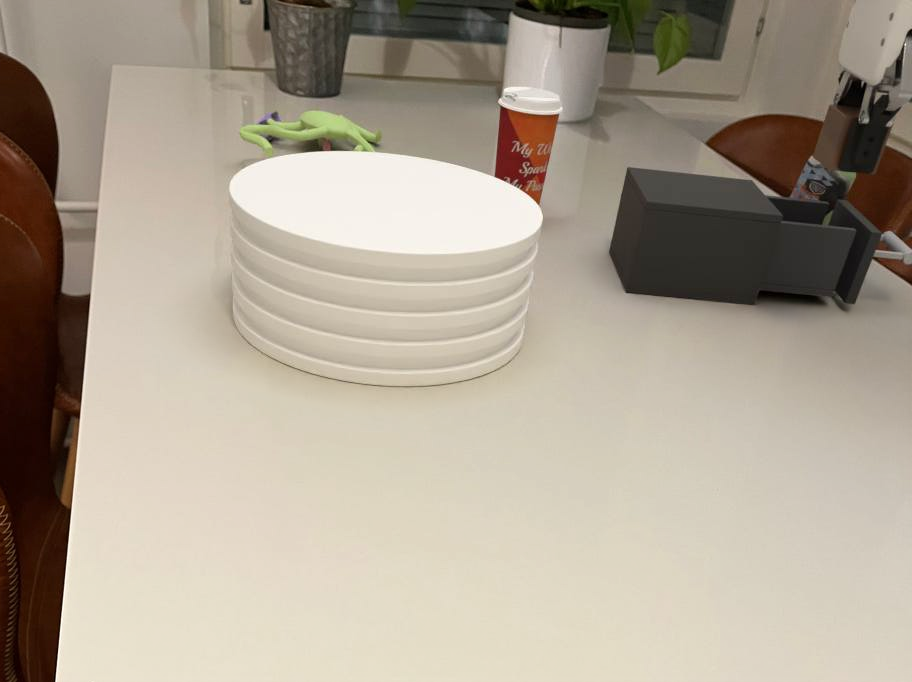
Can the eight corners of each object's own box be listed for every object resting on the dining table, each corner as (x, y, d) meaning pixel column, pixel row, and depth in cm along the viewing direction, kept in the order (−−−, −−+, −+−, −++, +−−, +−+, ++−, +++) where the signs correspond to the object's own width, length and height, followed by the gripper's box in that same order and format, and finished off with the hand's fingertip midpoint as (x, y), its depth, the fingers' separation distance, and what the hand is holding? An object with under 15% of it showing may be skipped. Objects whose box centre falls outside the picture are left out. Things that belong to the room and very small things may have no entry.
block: (857, 161, 94) (876, 108, 91) (875, 174, 90) (894, 121, 87) (812, 156, 93) (829, 104, 91) (828, 170, 90) (846, 116, 87)
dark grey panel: (869, 272, 119) (895, 205, 114) (905, 309, 110) (935, 238, 105) (713, 256, 117) (733, 188, 112) (737, 293, 109) (759, 220, 104)
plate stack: (206, 271, 100) (200, 150, 93) (458, 261, 110) (471, 151, 102) (274, 398, 81) (273, 258, 74) (572, 374, 91) (598, 248, 83)
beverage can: (762, 241, 127) (794, 140, 119) (818, 248, 127) (853, 148, 119) (773, 258, 122) (807, 154, 114) (831, 265, 122) (869, 162, 115)
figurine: (236, 181, 124) (234, 133, 120) (255, 126, 144) (254, 83, 140) (382, 195, 126) (385, 147, 122) (381, 139, 146) (383, 97, 142)
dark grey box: (727, 264, 119) (752, 180, 112) (754, 305, 109) (783, 215, 103) (608, 252, 118) (627, 166, 111) (625, 292, 108) (647, 201, 102)
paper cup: (507, 230, 120) (526, 102, 111) (471, 209, 125) (486, 86, 115) (557, 224, 124) (579, 100, 115) (520, 204, 128) (538, 84, 119)
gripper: (1020, -60, 74) (919, 195, 86) (927, -81, 87) (850, 143, 99) (925, -71, 73) (836, 187, 85) (845, -91, 86) (778, 136, 98)
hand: (845, 161), depth 92 cm, fingers closed on block, 4 cm apart
